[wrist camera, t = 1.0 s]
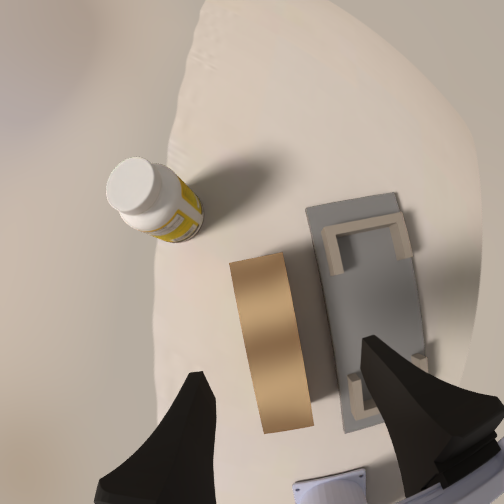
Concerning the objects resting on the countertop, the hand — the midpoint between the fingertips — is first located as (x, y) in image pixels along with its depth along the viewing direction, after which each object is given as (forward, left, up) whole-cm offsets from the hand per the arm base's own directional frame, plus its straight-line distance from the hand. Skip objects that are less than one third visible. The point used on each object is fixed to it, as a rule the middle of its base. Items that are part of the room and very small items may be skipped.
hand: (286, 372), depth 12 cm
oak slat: (-1, +1, -13) cm, 13 cm away
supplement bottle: (+12, +8, -13) cm, 20 cm away
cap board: (-1, -9, -13) cm, 16 cm away
